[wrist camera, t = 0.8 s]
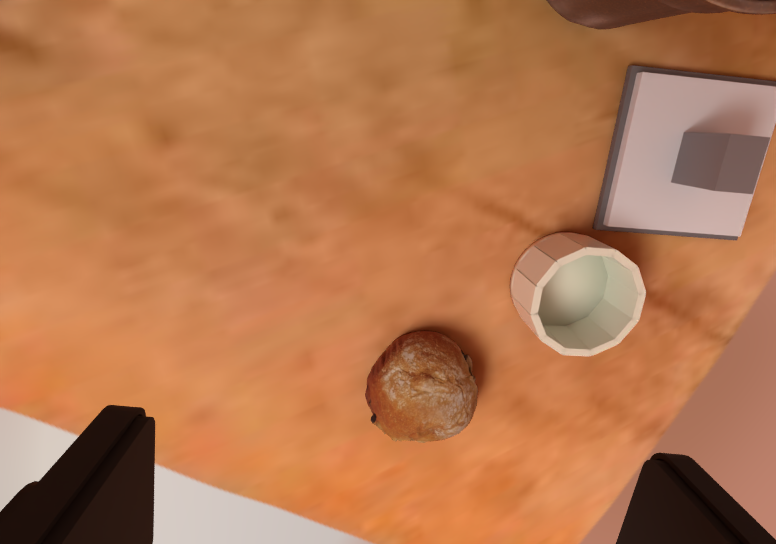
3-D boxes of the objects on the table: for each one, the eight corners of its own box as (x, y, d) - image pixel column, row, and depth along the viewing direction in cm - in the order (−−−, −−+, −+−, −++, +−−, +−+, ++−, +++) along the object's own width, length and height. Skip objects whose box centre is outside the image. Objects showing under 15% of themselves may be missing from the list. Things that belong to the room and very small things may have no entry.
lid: (636, 72, 38) (686, 64, 32) (778, 88, 39) (848, 83, 33) (603, 224, 41) (642, 240, 36) (733, 234, 42) (790, 251, 37)
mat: (628, 66, 38) (632, 65, 37) (779, 83, 39) (785, 82, 39) (592, 228, 42) (596, 229, 41) (731, 238, 43) (736, 240, 42)
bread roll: (467, 377, 50) (519, 397, 42) (399, 455, 46) (442, 490, 39) (411, 306, 47) (455, 314, 39) (334, 384, 44) (367, 408, 36)
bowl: (519, 228, 41) (543, 243, 36) (618, 235, 42) (656, 252, 37) (502, 325, 44) (522, 353, 39) (596, 330, 45) (629, 358, 40)
